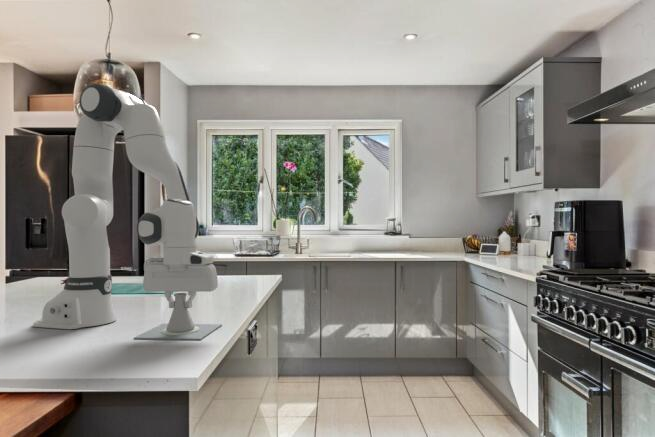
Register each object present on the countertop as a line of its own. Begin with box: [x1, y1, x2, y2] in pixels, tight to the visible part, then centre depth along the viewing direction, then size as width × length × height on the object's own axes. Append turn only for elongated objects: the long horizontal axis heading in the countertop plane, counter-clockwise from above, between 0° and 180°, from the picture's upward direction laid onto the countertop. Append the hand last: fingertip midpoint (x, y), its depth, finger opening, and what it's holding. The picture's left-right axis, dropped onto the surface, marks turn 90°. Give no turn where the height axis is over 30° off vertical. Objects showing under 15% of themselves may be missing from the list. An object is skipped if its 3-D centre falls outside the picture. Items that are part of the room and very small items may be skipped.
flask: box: [166, 292, 195, 332], centre depth 124 cm, size 7×7×10 cm
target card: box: [133, 323, 223, 341], centre depth 124 cm, size 18×16×1 cm
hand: (180, 307), depth 124 cm, fingers closed on flask, 3 cm apart
